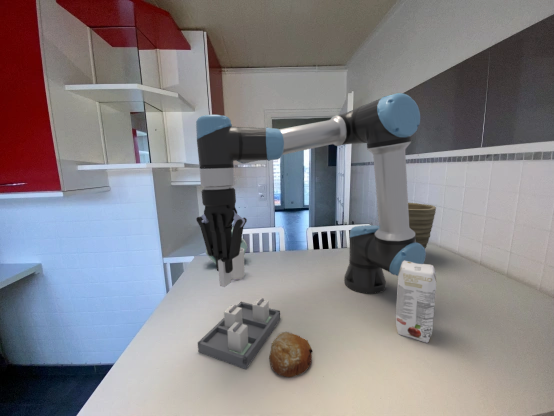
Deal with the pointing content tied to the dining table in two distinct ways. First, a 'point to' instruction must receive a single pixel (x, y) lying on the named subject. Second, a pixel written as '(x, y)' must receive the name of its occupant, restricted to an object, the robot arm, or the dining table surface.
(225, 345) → the switch bank
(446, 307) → the dining table surface
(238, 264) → the mug
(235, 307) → the tab mid
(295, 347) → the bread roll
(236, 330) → the tab near
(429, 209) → the vase
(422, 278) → the juice carton
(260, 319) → the tab far
